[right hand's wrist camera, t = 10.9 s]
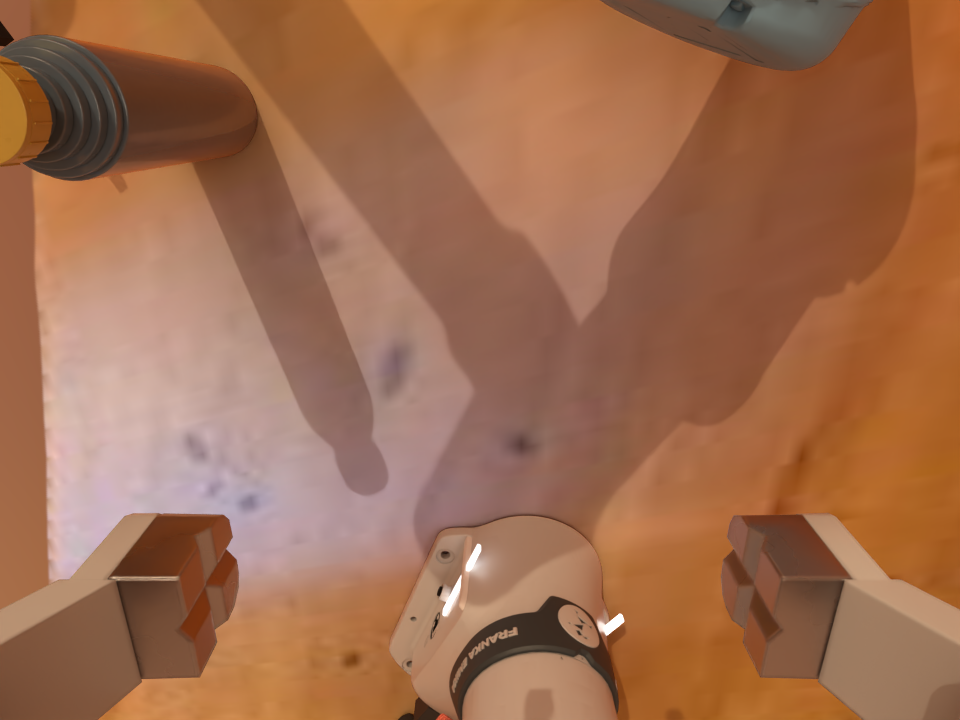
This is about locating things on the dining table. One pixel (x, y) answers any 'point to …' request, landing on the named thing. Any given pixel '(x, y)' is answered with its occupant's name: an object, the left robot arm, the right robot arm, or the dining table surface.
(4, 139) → the cap
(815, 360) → the dining table surface
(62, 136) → the bottle
